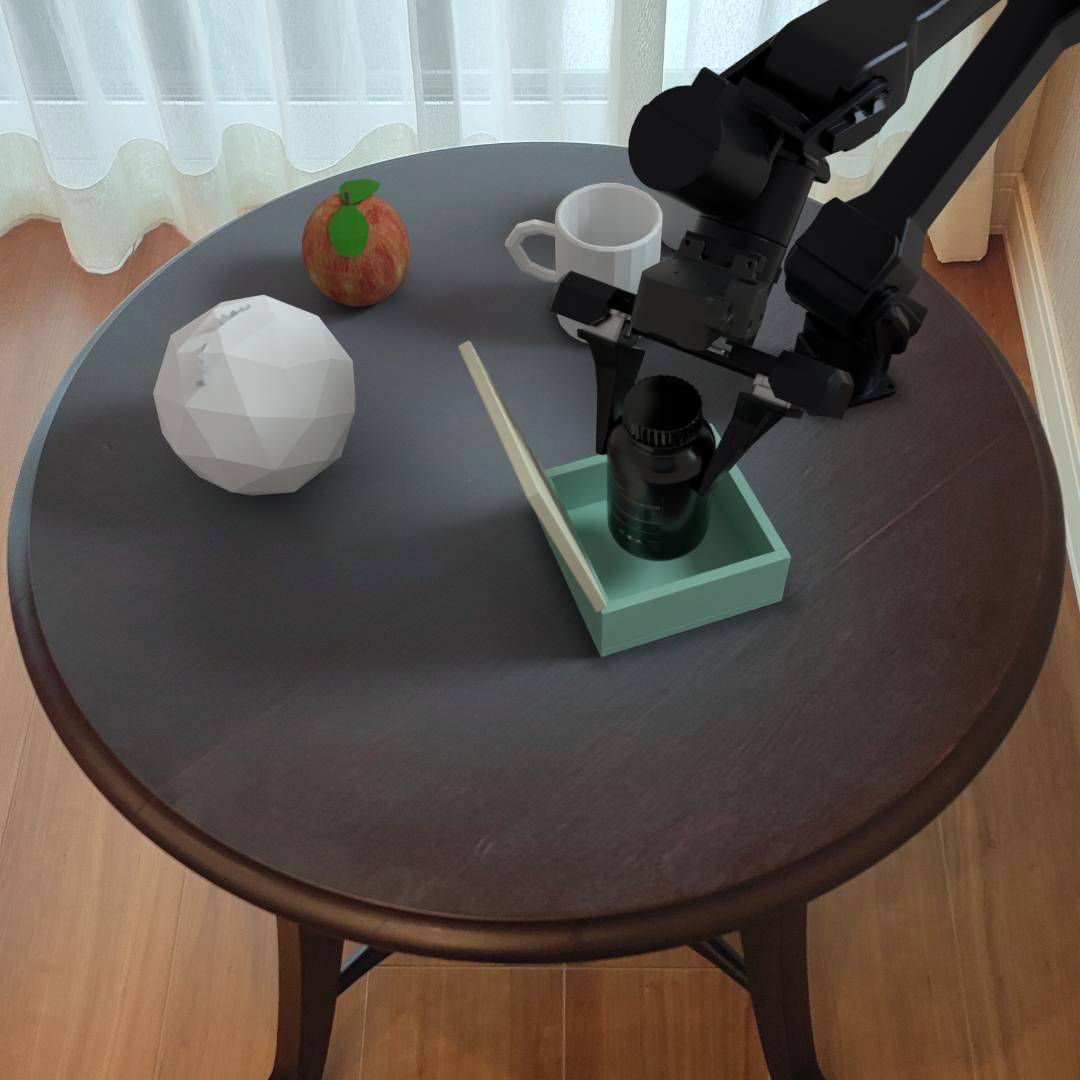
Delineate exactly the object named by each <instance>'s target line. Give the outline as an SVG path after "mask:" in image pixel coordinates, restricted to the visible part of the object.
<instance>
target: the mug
mask: <svg viewBox="0 0 1080 1080" xmlns="http://www.w3.org/2000/svg"><path fill="white" fill-rule="evenodd" d="M662 216H663V213H662V211H661V209H660V206H659V204H658V202H656V201H655V200H654V199H653V198H652V197H651V196H650V193H648V192H646V191H644V190H641V189H640V188H637V187H635V186H632V185H628V184H624V183H619V182H599V183H594V184H588V185H585V186H582V187H581V188H578V189H576V190H573V191H572V192H571V193H569V194H568V195H566V196H565V197H564V198H563V199H561V201H560V203H559V204H558V206H557V207H556V209H555V217H554V223H552V222H548V221H544V220H539V219H536V218H534V219H530V220H526V221H523V222H519V223H517V224H516V225H515V226H514V228H513V229H512V231H511V232H510V234H509V235H508V237H507V238H506V239H505V241H504V242H505V243H504V246H505V248H506V249H507V251H508V252H509V254H510V255H511V257H512V259H513V260H514V262H515V263H516V266H517V267H518V268H519V269H520V271H521V272H523V273H524V274H527V275H529V276H532V277H533V278H536V279H538V280H540V281H543V282H547V283H553V284H556V282H557V281H558V280H559V279H560V278H561V277H562V276H563V275H565V274H566V273H568V272H569V271H574V272H577V273H579V274H582V275H585V276H588V277H591V278H594V279H596V280H599V281H602V282H604V283H607V284H610V285H613V286H615V287H618V288H621V289H623V290H626V291H629V292H631V293H634V294H637V291H638V286H639V282H640V278H641V274H642V271H643V270H645V269H647V268H649V267H651V266H653V265H655V264H657V263H659V262H661V249H662V239H661V236H662ZM540 234H542V235H546V236H550V237H554V239H555V241H554V243H555V244H554V245H555V248H554V249H555V270H554V269H550V268H546V267H544V266H541V265H540V264H538V263H535V262H533V261H531V259H530V257H529V256H528V255H527V253H526V252H525V250H524V248H523V247H522V245H521V244H522V243H523V241H524V240H525V239H526V237H531V236H535V235H540ZM556 316H557V319H558V322H559V325H560V326H561V327H562V328H563V330H564V331H565V332H566V333H567V334H568V335H569V336H571V337H572V338H574V339H576V340H578V341H579V342H581V343H584V344H588V343H587V341H585V340H583V339H581V338H578V337H577V329H583V327H584V324H582V323H579V322H577V321H574V320H572V319H569V318H566V317H564V316H561V315H559V314H556ZM641 338H642V337H641V336H639V338H638V339H637V340H639V339H641Z"/></svg>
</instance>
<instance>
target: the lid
mask: <svg viewBox="0 0 1080 1080" xmlns="http://www.w3.org/2000/svg"><path fill="white" fill-rule="evenodd" d="M458 350H459V352H460V354H461V357H462V360H463V361H464V364H465V365H466V368H467V371H468V372H469V374H470V376H471V379H472V381H473V383H474V386H475V387H476V391H477V392H478V395H479V396H480V397H479V398H480V399H481V401H482V403H483V405H484V407H485V410H486V412H487V414H488V416H489V419H490V421H491V423H492V426H493V427H494V430H495V432H496V434H497V436H498V439H499V440H500V443H501V445H502V447H503V449H504V452H505V454H506V456H507V458H508V460H509V462H510V466H511V467H512V469H513V471H514V474H515V476H516V479H517V480H518V482H519V485H520V487H521V489H522V492H523V494H524V496H525V498H526V500H527V501H528V503H529V504H530V506H531V509H532V510H533V511H534V513H535V514H536V516H537V519H538V518H539V519H540V521H541V523H542V524H543V526H544V528H545V529H546V531H547V532H548V534H549V536H550V537H551V539H552V541H553V542H554V544H555V546H556V547H557V549H558V551H559V552H560V554H561V555H562V557H563V559H564V560H565V562H566V564H567V565H568V567H569V569H570V570H571V572H572V574H573V575H574V577H575V578H576V580H577V582H578V583H579V585H580V587H581V588H582V590H583V592H584V593H585V595H586V597H587V598H588V600H589V601H590V603H591V605H592V606H593V608H594V610H595V611H596V612H598V611H600V610H602V609H604V608H606V607H607V605H606V603H605V600H604V598H603V596H602V594H601V592H600V590H599V588H598V586H597V583H596V581H595V579H594V577H593V575H592V573H591V571H590V569H589V566H588V564H587V562H586V560H585V558H584V556H583V554H582V552H581V550H580V547H579V545H578V543H577V541H576V539H575V537H574V535H573V533H572V530H571V528H570V526H569V524H568V522H567V520H566V518H565V516H564V513H563V511H562V509H561V507H560V505H559V503H558V501H557V499H556V496H555V494H554V492H553V490H552V488H551V486H550V484H549V482H548V479H547V477H546V475H545V473H544V471H543V470H544V469H543V467H542V464H541V463H540V461H539V459H538V458H537V456H536V454H535V453H534V451H533V449H532V447H531V445H530V444H529V442H528V440H527V438H526V437H525V435H524V433H523V431H522V429H521V428H520V426H519V424H518V422H517V421H516V419H515V417H514V416H513V413H512V412H511V410H510V409H509V407H508V405H507V403H506V401H505V400H504V397H503V396H502V394H501V393H500V391H499V389H498V388H497V386H496V384H495V382H494V380H493V379H492V377H491V375H490V373H489V371H488V370H487V368H486V367H485V366H486V365H484V363H483V361H482V359H481V357H480V356H479V354H478V353H477V350H476V349H475V347H474V346H473V344H472V342H471V341H470V340H467V341H465V342H462V343H461V344H459V345H458Z"/></svg>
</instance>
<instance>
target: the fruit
mask: <svg viewBox="0 0 1080 1080" xmlns="http://www.w3.org/2000/svg"><path fill="white" fill-rule="evenodd" d="M380 187H381V183H380V182H378V181H377V180H374V179H371V178H360V179H352V180H346V181H344V182H343V183H342V184H340V185H339V189H338V190H339V191H338V192H339V193H336V194H334V195H331V196H329V197H327V198H325V199H324V200H323V201H321V202H320V203H319V204H318V205H317V206H316V207H315V209H314V210H313V211H312V213H311V214H310V215H309V217H308V219H307V220H306V222H305V225H304V227H303V232H302V238H301V252H302V253H301V254H302V262H303V264H304V267H305V270H306V272H307V275H308V277H309V279H310V280H311V281H312V283H313V284H314V286H315V287H316V288H317V289H318V290H319V291H320V292H321V293H322V294H323V295H325V296H326V297H328V298H330V299H331V300H333V301H334V302H336V303H338V304H342V305H344V306H350V307H368V306H372V305H376V304H377V303H380V302H381V301H383V300H385V299H388V298H389V297H390V296H391V295H392V294H393V293H394V292H395V291H396V290H397V288H398V287H400V285H402V282H403V281H404V279H405V277H406V274H407V272H408V270H409V264H410V259H411V246H410V238H409V235H408V232H407V229H406V226H405V224H404V222H403V220H402V219H401V217H400V216H399V214H398V213H397V211H396V210H395V209H394V208H393V207H392V206H391V205H390V204H389V203H388V202H387V201H385V200H383V199H382V198H380V197H379V196H377V195H375V194H374V193H376V192H377V191H378V190H379V188H380Z"/></svg>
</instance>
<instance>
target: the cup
mask: <svg viewBox="0 0 1080 1080" xmlns="http://www.w3.org/2000/svg"><path fill="white" fill-rule="evenodd" d="M648 190H649V195H650V196H651V197H652V198H653V199H654V200H655V201H656V202H658V204H659V206H660V209H661V211H662V213H663V216H662V236H661V242H663V243H664V244H665V245H666V246H667V247H668V248H671V249H672V250H673V251H676V252H677V251H678V249H679V246H680V243H681V241H682V239H683V238H684V237H685V234H686V231H687V230H689V231H693V228H694V226H695V223H696V220H697V218H698V217H699V216H698V215H699V212H698V211H696V210H694V209H692V208H690V207H688V206H686V205H684V204H682V203H679V202H677V201H675V200H673V199H671V198H669V197H667V196H665V195H663V194H661V193H659V192H657V191H655V190H653V189H651V188H649V187H648Z"/></svg>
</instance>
